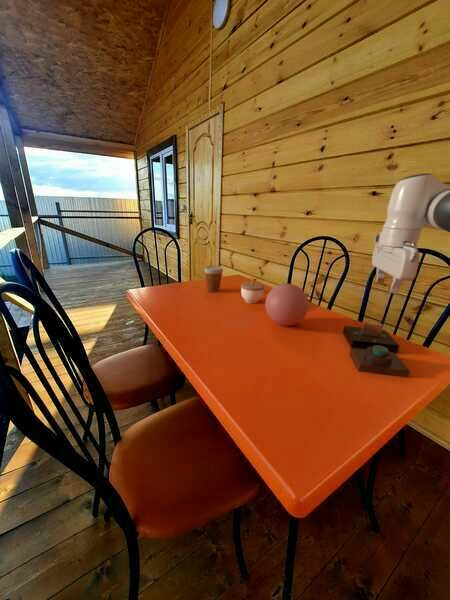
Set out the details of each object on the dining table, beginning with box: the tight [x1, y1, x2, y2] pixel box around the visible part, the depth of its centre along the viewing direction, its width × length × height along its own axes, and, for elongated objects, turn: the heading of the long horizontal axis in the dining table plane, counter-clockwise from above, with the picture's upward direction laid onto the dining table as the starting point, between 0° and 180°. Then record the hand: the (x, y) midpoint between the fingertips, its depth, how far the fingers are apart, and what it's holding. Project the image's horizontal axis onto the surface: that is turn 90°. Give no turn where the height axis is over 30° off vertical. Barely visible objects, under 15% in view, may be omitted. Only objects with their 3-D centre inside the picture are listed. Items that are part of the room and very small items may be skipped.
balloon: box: [264, 283, 310, 327], centre depth 94 cm, size 15×20×15 cm
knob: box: [360, 320, 384, 337], centre depth 82 cm, size 6×2×4 cm, turn 79°
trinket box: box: [240, 280, 265, 304], centre depth 117 cm, size 11×11×9 cm
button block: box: [349, 347, 411, 379], centre depth 70 cm, size 12×9×4 cm
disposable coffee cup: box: [203, 265, 224, 293], centre depth 131 cm, size 10×10×12 cm
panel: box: [342, 325, 400, 355], centre depth 83 cm, size 13×11×3 cm
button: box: [372, 345, 388, 357], centre depth 70 cm, size 4×4×2 cm
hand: (385, 287), depth 74 cm, fingers open, 8 cm apart
